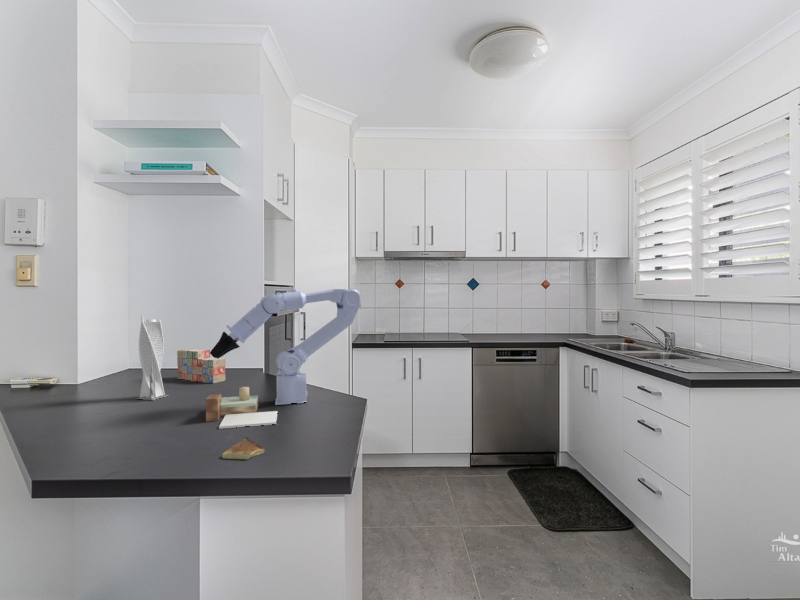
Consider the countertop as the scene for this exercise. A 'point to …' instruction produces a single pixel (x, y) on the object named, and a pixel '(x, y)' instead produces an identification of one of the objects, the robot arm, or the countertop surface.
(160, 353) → the skyscraper
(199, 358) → the stack of blocks
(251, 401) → the lid
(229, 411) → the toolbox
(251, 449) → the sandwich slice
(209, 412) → the brown rectangular block
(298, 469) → the countertop surface
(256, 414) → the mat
